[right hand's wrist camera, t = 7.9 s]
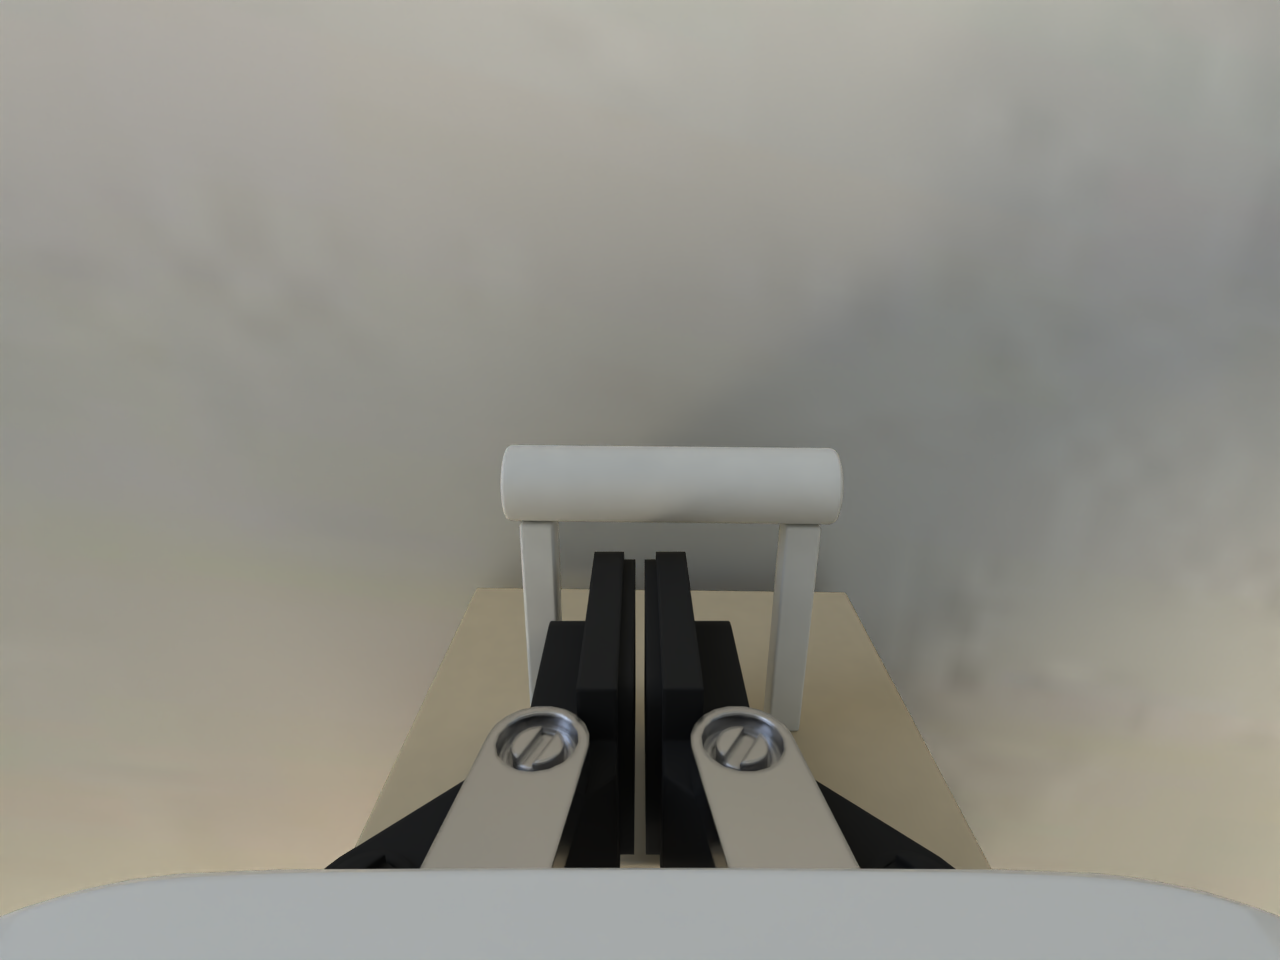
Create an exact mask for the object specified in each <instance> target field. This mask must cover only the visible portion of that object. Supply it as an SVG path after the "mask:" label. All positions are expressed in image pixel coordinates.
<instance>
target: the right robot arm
mask: <svg viewBox="0 0 1280 960" xmlns="http://www.w3.org/2000/svg"><path fill="white" fill-rule="evenodd" d="M635 714H636V617H635V559H624V552H595V553H594V560H593V568H592V575H591V582H590V590H589V597H588V605H587V612H586V619H585V621H550V623H549V626H548V631H547V635H546V640H545V644H544V649H543V653H542V658H541V662H540V667H539V671H538V675H537V680H536V684H535V689H534V693H533V698H532V702H531V707H530V708H526V709H521V710H519V711H517V712H514V713H512V714H510V715H508V716H506V717H505V718H503V719H502V720H501V721H499V722H498V723H497V724H495V726H494V727H493V728H492V730H491V731H490V732H489V734H488V735H487V737H486V739H485V741H484V743H483V745H482V747H481V749H480V751H479V753H478V755H477V757H476V759H475V761H474V763H473V765H472V767H471V769H470V771H469V773H468V775H467V777H466V779H465V780H464V781H462V782H460V783H459V784H457V785H455V786H454V787H452V788H451V789H449V790H447V791H446V792H444V793H443V794H441V795H439V796H438V797H436V798H434V799H433V800H431V801H430V802H428V803H426V804H425V805H423V806H422V807H420V808H418V809H417V810H415V811H413V812H412V813H410V814H409V815H407V816H405V817H404V818H402V819H401V820H399V821H397V822H396V823H394V824H392V825H391V826H389V827H388V828H386V829H384V830H383V831H381V832H380V833H378V834H376V835H375V836H373V837H371V838H370V839H368V840H367V841H365V842H363V843H362V844H360V845H358V846H357V847H355V848H354V849H352V850H350V851H349V852H347V853H346V854H344V855H342V856H341V857H339V858H338V859H337V860H335V861H334V862H333V863H331V864H330V865H329V866H327V867H326V868H325V869H279V870H254V871H228V872H203V873H182V874H173V875H164V876H156V877H147V878H138V879H132V880H127V881H122V882H117V883H112V884H107V885H102V886H97V887H92V888H88V889H83V890H79V891H76V892H73V893H69V894H66V895H63V896H59V897H56V898H53V899H50V900H46V901H43V902H40V903H37V904H33V905H30V906H27V907H24V908H21V909H19V910H16V911H14V912H11V913H8V914H6V915H3V916H1V917H0V960H1280V917H1279V916H1277V915H1274V914H1272V913H1269V912H1266V911H1264V910H1261V909H1259V908H1256V907H1253V906H1250V905H1247V904H1243V903H1240V902H1237V901H1234V900H1230V899H1227V898H1224V897H1221V896H1217V895H1214V894H1211V893H1207V892H1204V891H1201V890H1197V889H1192V888H1188V887H1183V886H1178V885H1173V884H1168V883H1163V882H1158V881H1153V880H1148V879H1142V878H1133V877H1124V876H1116V875H1107V874H1098V873H1077V872H1052V871H1026V870H1001V869H999V870H991V869H955V868H954V867H953V866H951V865H950V864H949V863H947V862H946V861H945V860H943V859H942V858H941V857H939V856H938V855H936V854H934V853H933V852H931V851H930V850H928V849H926V848H925V847H923V846H922V845H920V844H918V843H917V842H915V841H913V840H912V839H910V838H909V837H907V836H905V835H904V834H902V833H900V832H899V831H897V830H896V829H894V828H892V827H891V826H889V825H888V824H886V823H884V822H883V821H881V820H879V819H878V818H876V817H875V816H873V815H871V814H870V813H868V812H867V811H865V810H863V809H862V808H860V807H858V806H857V805H855V804H854V803H852V802H850V801H849V800H847V799H846V798H844V797H842V796H841V795H839V794H837V793H836V792H834V791H833V790H831V789H829V788H828V787H826V786H825V785H823V784H821V783H820V782H818V781H816V780H815V779H814V777H813V775H812V773H811V771H810V769H809V767H808V765H807V763H806V761H805V759H804V757H803V755H802V753H801V751H800V749H799V747H798V745H797V743H796V741H795V739H794V737H793V735H792V734H791V732H790V731H789V730H788V728H787V727H786V726H785V724H783V723H782V722H781V721H779V720H778V719H777V718H775V717H774V716H772V715H770V714H768V713H766V712H763V711H761V710H759V709H754V708H750V707H749V702H748V698H747V693H746V689H745V684H744V680H743V675H742V671H741V667H740V662H739V658H738V653H737V649H736V644H735V640H734V635H733V631H732V626H731V623H730V621H695V619H694V612H693V605H692V597H691V590H690V582H689V575H688V568H687V560H686V553H685V552H656V559H645V615H644V714H645V824H646V855H660V868H620V855H634V824H635Z"/></svg>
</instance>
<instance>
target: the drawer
mask: <svg viewBox="0 0 1280 960" xmlns="http://www.w3.org/2000/svg"><path fill="white" fill-rule="evenodd" d="M500 487H501V502H502V507H503V511H504V514H505V517H506V518H507V519H509V520H511V521H522V522H521V524H520V527H519V529H520V545H521V562H522V578H523V589H522V588H477V589H476V591H475V593H474V595H473V597H472V599H471V601H470V603H469V606H468V608H467V610H466V612H465V614H464V616H463V618H462V620H461V623H460V625H459V627H458V629H457V631H456V633H455V635H454V638H453V640H452V642H451V644H450V646H449V648H448V650H447V652H446V655H445V657H444V659H443V661H442V663H441V665H440V667H439V669H438V672H437V674H436V676H435V678H434V680H433V682H432V684H431V687H430V689H429V691H428V693H427V695H426V697H425V699H424V701H423V704H422V706H421V708H420V710H419V712H418V714H417V716H416V718H415V721H414V723H413V725H412V727H411V729H410V731H409V733H408V736H407V738H406V740H405V742H404V744H403V746H402V748H401V750H400V753H399V755H398V757H397V759H396V761H395V763H394V765H393V767H392V770H391V772H390V774H389V776H388V778H387V780H386V782H385V785H384V787H383V789H382V791H381V793H380V795H379V797H378V799H377V802H376V804H375V806H374V808H373V810H372V812H371V814H370V816H369V819H368V821H367V823H366V825H365V827H364V829H363V831H362V834H361V836H360V838H359V840H358V842H357V844H356V846H355V847H357V846H358V845H360V844H362V843H363V842H365V841H367V840H368V839H370V838H371V837H373V836H375V835H376V834H378V833H380V832H381V831H383V830H384V829H386V828H388V827H389V826H391V825H392V824H394V823H396V822H397V821H399V820H401V819H402V818H404V817H405V816H407V815H409V814H410V813H412V812H413V811H415V810H417V809H418V808H420V807H422V806H423V805H425V804H426V803H428V802H430V801H431V800H433V799H434V798H436V797H438V796H439V795H441V794H443V793H444V792H446V791H447V790H449V789H451V788H452V787H454V786H455V785H457V784H459V783H460V782H462V781H464V780H465V779H466V777H467V775H468V773H469V771H470V769H471V767H472V765H473V763H474V761H475V759H476V757H477V755H478V753H479V751H480V749H481V747H482V745H483V743H484V741H485V739H486V737H487V735H488V734H489V732H490V731H491V730H492V728H493V727H494V726H495V724H497V723H498V722H499V721H501V720H502V719H503V718H505V717H506V716H508V715H510V714H512V713H514V712H517V711H519V710H521V709H526V708H530V707H531V702H532V698H533V693H534V689H535V684H536V680H537V675H538V671H539V667H540V662H541V658H542V653H543V649H544V644H545V640H546V635H547V631H548V626H549V623H550V621H585V619H586V612H587V605H588V597H589V590H590V589H561V580H560V555H559V529H558V521H589V522H678V523H767V524H780V526H779V538H778V549H777V561H776V572H775V584H774V592H768V591H691V597H692V605H693V612H694V619H695V621H730V623H731V626H732V631H733V635H734V640H735V644H736V649H737V653H738V658H739V662H740V667H741V671H742V675H743V680H744V684H745V689H746V693H747V698H748V702H749V707H750V708H754V709H759V710H761V711H763V712H766V713H768V714H770V715H772V716H774V717H775V718H777V719H778V720H779V721H781V722H782V723H783V724H785V726H786V727H787V728H788V730H789V731H790V732H791V734H792V735H793V737H794V739H795V741H796V743H797V745H798V747H799V749H800V751H801V753H802V755H803V757H804V759H805V761H806V763H807V765H808V767H809V769H810V771H811V773H812V775H813V777H814V779H815V780H816V781H818V782H820V783H821V784H823V785H825V786H826V787H828V788H829V789H831V790H833V791H834V792H836V793H837V794H839V795H841V796H842V797H844V798H846V799H847V800H849V801H850V802H852V803H854V804H855V805H857V806H858V807H860V808H862V809H863V810H865V811H867V812H868V813H870V814H871V815H873V816H875V817H876V818H878V819H879V820H881V821H883V822H884V823H886V824H888V825H889V826H891V827H892V828H894V829H896V830H897V831H899V832H900V833H902V834H904V835H905V836H907V837H909V838H910V839H912V840H913V841H915V842H917V843H918V844H920V845H922V846H923V847H925V848H926V849H928V850H930V851H931V852H933V853H934V854H936V855H938V856H939V857H941V858H942V859H943V860H945V861H946V862H947V863H949V864H950V865H951V866H953V867H954V868H955V869H991V868H990V866H989V864H988V862H987V860H986V858H985V856H984V854H983V852H982V851H981V849H980V847H979V845H978V843H977V841H976V839H975V837H974V835H973V833H972V832H971V830H970V828H969V826H968V824H967V822H966V820H965V818H964V816H963V814H962V813H961V811H960V809H959V807H958V805H957V803H956V801H955V799H954V797H953V796H952V794H951V792H950V790H949V788H948V786H947V784H946V782H945V780H944V778H943V777H942V775H941V773H940V771H939V769H938V767H937V765H936V763H935V761H934V759H933V758H932V756H931V754H930V752H929V750H928V748H927V746H926V744H925V742H924V740H923V739H922V737H921V735H920V733H919V731H918V729H917V727H916V725H915V723H914V722H913V720H912V718H911V716H910V714H909V712H908V710H907V708H906V706H905V704H904V703H903V701H902V699H901V697H900V695H899V693H898V691H897V689H896V687H895V685H894V684H893V682H892V680H891V678H890V676H889V674H888V672H887V670H886V668H885V666H884V665H883V663H882V661H881V659H880V657H879V655H878V653H877V651H876V649H875V648H874V646H873V644H872V642H871V640H870V638H869V636H868V634H867V632H866V630H865V629H864V627H863V625H862V623H861V621H860V619H859V617H858V615H857V613H856V611H855V610H854V608H853V606H852V604H851V602H850V600H849V598H848V596H847V594H846V593H844V592H814V589H815V580H816V571H817V562H818V553H819V544H820V535H821V528H820V526H819V524H831V523H834V522H835V521H836V520H837V518H838V516H839V513H840V509H841V505H842V499H843V472H842V466H841V462H840V458H839V455H838V453H837V452H836V451H835V450H834V449H831V448H772V447H674V446H575V445H510V446H508V447H507V448H506V451H505V453H504V456H503V460H502V467H501V482H500ZM644 615H645V590H635V617H636V714H635V824H634V855H620V868H660V855H646V824H645V714H644Z"/></svg>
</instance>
